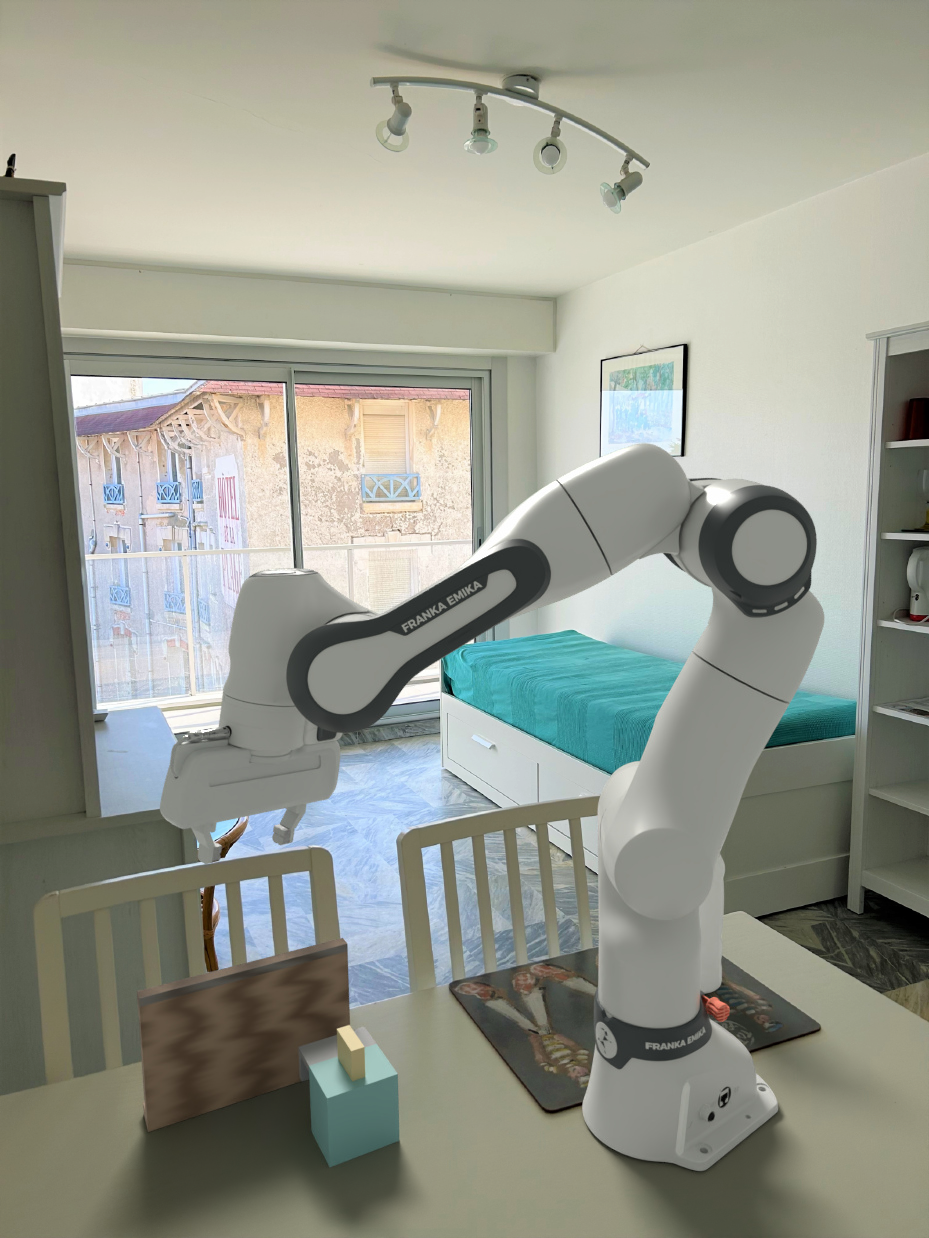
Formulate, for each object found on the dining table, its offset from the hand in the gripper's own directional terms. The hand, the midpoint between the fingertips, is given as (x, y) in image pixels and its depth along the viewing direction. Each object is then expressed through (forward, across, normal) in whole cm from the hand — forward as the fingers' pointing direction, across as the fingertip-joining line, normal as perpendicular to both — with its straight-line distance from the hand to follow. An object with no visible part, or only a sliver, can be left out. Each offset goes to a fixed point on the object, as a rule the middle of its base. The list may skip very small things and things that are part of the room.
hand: (246, 851), depth 92 cm
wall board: (+33, +8, +3) cm, 34 cm away
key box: (+31, +12, -10) cm, 35 cm away
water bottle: (+23, +62, -28) cm, 72 cm away
